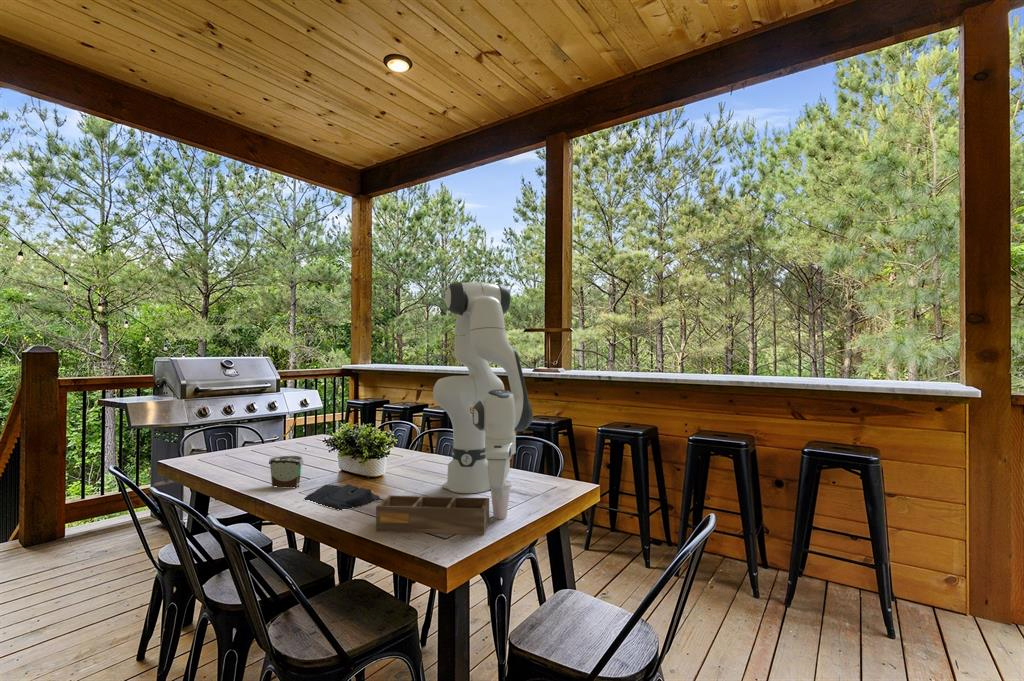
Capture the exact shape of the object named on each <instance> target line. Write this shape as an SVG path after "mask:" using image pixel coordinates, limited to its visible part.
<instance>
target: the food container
mask: <svg viewBox="0 0 1024 681" xmlns="http://www.w3.org/2000/svg"><path fill="white" fill-rule="evenodd" d="M268 465H269V467H270V477H271V487H272V486H277V487H295V488H297V487H298V488H299V487H300V483H301V482H300V481H301V474H302V473H301V472H302V466H303V465H304V460H303V457H302V456H299V455H283V456H281V455H280V456H274V457H270V458H269V460H268ZM298 488H297V489H298Z"/></svg>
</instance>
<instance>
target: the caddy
mask: <svg viewBox="0 0 1024 681" xmlns="http://www.w3.org/2000/svg"><path fill="white" fill-rule="evenodd" d="M489 523H490V498H489V497H462V496H461V497H459V496H425V495H424V496H423V495H421V496H419V495H388V496H387V497H385V499H383V500H382V501H381V502H379V504H377V505H376V507H375V532H380V531H393V532H392V533H411V532H415V534H417V533H419V534H420V533H421V534H445V535H447V534H451V535H477V536H480V535H481V536H484V535H485V534H486V531H487V528H488V525H489Z"/></svg>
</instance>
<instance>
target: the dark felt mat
mask: <svg viewBox="0 0 1024 681" xmlns="http://www.w3.org/2000/svg"><path fill="white" fill-rule="evenodd" d="M303 499H305V500H310V501H313V502H316V503H318V504H322V505H325V506H328V507H332V508H335V509H339V510H341V511H343V510H342V509H349V508H352V507H355V508H358V507H357V506H360V507H363V506H362V505H364V506H366V505H369V504H372V503H373V502H372V501H374V502H376V501H377V500H380V495H377V494H375V493H373V492H372V490H371V489H370V488H364V487H359V486H355V485H352V484H345V485H344V486H340V485H338V484H337V485H336V484H325V485H322V486H321V487H319V488H318V489H316V490H315V491H313V492H311V493H310V494H307V495H306V496H305V497H304V498H303ZM376 499H377V500H376ZM375 500H376V501H375ZM371 502H372V503H371ZM368 503H369V504H368ZM365 504H366V505H365ZM325 506H324V507H325ZM328 507H327V508H328ZM332 508H331V509H332ZM335 509H334V510H335ZM352 509H353V508H352ZM339 510H338V511H339Z"/></svg>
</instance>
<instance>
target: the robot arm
mask: <svg viewBox="0 0 1024 681" xmlns="http://www.w3.org/2000/svg"><path fill="white" fill-rule="evenodd" d="M511 300H512V299H511V292H510V289H509V288H508V286H506V285H505V284H504V285H503V284H501V283H496V284H495V283H490V282H482V281H477V282H473V281H472V282H471V281H470V282H460V281H458V282H456V281H455V282H451V283H450V284H449V285H448V286H447V289H446V292H445V295H444V303H445V306H446V309H447V310H448V311H449V312H450V313H452V314H454V315H456V316H455V317H456V318H455V324H454V352H453V353H454V358H455V360H456V361H457V362H458V363H459V364H461V365H463V366H465V367H466V368H467V369H468V370H467V371H468V375H450V376H445V377H442V378H439V379H437V381H436V382H435V384H434V386H433V388H432V389H433V390H432V396H433V399H434V401H435V403H436V405H438V406H439V407H440V408H441V409H442V410H444V411H445V413H446V414H447V415H448V418H450V421H451V425H452V432H453V433H452V434H453V436H452V438H453V447H452V449H451V450H452V451H451V455H452V456H451V457H452V460H451V461H450V462H449V463H448V464H447V479H446V482H445V483H443V484H442V488H443V489H446V490H449V491H451V492H453V493H458V494H476V493H483V492H486V491H491V490H490V489H491V488H494V489H495V499H496V500H501V499H502V487H503V485H504V483H505V481H507V477H508V475H509V472H510V467H511V466H510V465H511V463H510V462H511V461H510V460H511V459H512V455H515V454H516V453H517V452H516V450H517V447H516V443H517V442H516V441H517V440H516V439H517V438H516V437H517V436H516V432H524V431H526V429H528V428H529V427H530V425H531V424H532V423H533V421H534V414H533V413H534V412H533V407H532V404H531V402H530V399H529V395H528V391H527V387H526V382H525V378H524V377H525V376H524V374H523V369H522V366H521V365H522V364H521V360H520V357H519V355H518V352H517V349H516V348H514V347H513V346H511V344H510V343H509V340H508V339H507V335H506V323H505V317H504V314H505V313H507V312H508V310H509V309H510V306H511V303H512V302H511ZM489 362H491V363H493V364H495V365H497V366H499V367H501V369H502V368H503V370H504V371H505V373H506V375H507V378H508V379H507V380H508V383H509V389H510V391H509V390H506V389H505V385H504V382H503V380H501V378H500V377H498V376H497V375H496V374H495V373H494V371H493V370H492V368H491V367H490V364H489ZM471 408H472V412H471ZM489 486H490V487H491V488H490V487H489Z"/></svg>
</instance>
